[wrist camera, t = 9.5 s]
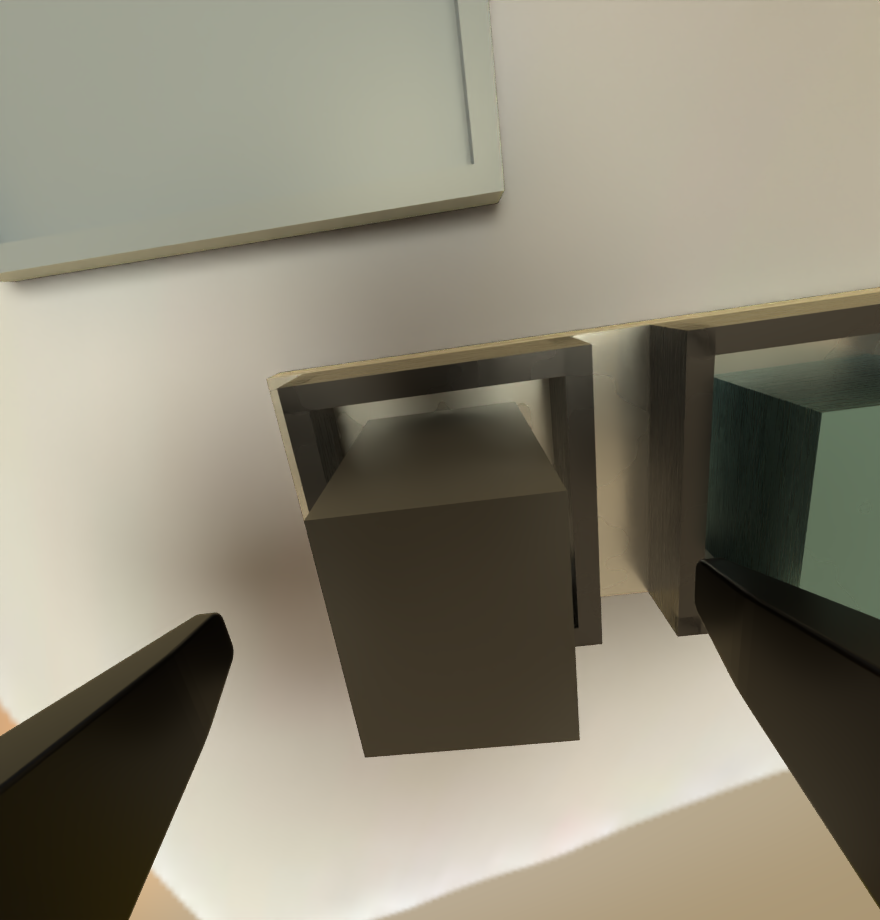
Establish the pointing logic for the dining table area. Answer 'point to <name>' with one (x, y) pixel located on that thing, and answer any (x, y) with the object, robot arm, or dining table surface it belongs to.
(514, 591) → the block
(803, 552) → the double socket holder
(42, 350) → the dining table surface
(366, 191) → the tray
